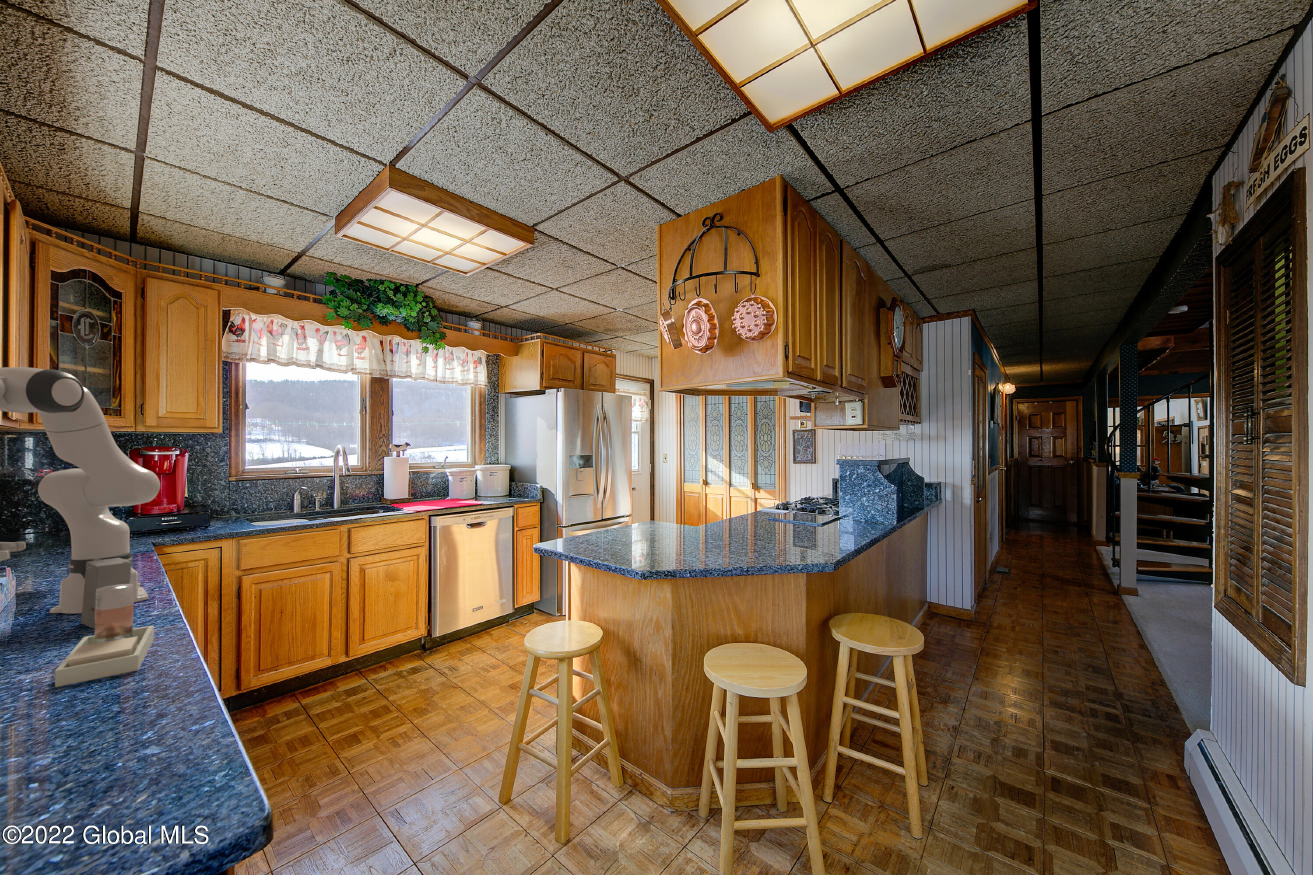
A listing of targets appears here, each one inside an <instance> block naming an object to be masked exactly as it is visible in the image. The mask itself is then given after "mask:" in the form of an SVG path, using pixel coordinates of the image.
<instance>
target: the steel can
mask: <svg viewBox="0 0 1313 875" xmlns="http://www.w3.org/2000/svg"><path fill="white" fill-rule="evenodd" d="M133 629H134V603H133V584H119V585H111V586H106V587H102V588H98V589H96V609H95V628H94V635H95V644H97V643H102V642H108V641H114V640H119V639H125V638H131V637H132V635H133Z"/></svg>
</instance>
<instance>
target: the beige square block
mask: <svg viewBox="0 0 1313 875" xmlns="http://www.w3.org/2000/svg"><path fill="white" fill-rule="evenodd" d="M137 639H138V636H137V637H131V638H125V639H119V640H114V641H108V642H102V643H97V644H91V645H85V646H79V648H78V649H77V650H76V651H75V652H74V654H73V655H72V656H71V657H70V658H69V660H68V663H69V667H71V666H76V665H82V664H87V663H92V662H97V661H103V660H108V659H113V658H118V657H124V656H129V655H134V653H135V651H136V649H137Z"/></svg>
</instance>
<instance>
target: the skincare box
mask: <svg viewBox="0 0 1313 875" xmlns="http://www.w3.org/2000/svg"><path fill="white" fill-rule="evenodd" d="M131 567H132V564H131V562H129V561H127V559H121V558H112V559H103V560H93V561H87V562H86V573H85V584H84V595H83V606H82V613H81V616H80V618H81V619H80V623H81V624H82V625H84V626H87V627H89V628H91V629H95V609H96V589H98V588H102V587H106V586H111V585H119V584H130V574H131Z"/></svg>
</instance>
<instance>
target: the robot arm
mask: <svg viewBox="0 0 1313 875" xmlns="http://www.w3.org/2000/svg"><path fill="white" fill-rule="evenodd" d="M0 412H7V413H8V412H9V413H17V414H18V413H20V414H26V413H37V414H38V415H39V416H40V419H41V423H42V425H43V428H44V431H45V433H46V435H47V438H48V439H49V442H50V444H51V447H52V449H53V451H54V453H55V455H56V456H57V457H58V458H59V459H61V460H63V461H65V462H67V463H70V464H72V465H74V466H76V468H69V469H63V470H62V469H61V470H58V471H52V472H50V473H48V474H46V475H45V476H44V477H43V478H42V479H41V480H40V482H39V483H38V487H37V493H38V496H39V498H40V500H41V501H42V502H44V503H45V504H47V505H49V506H50V507H52V508H53V509H54V510H56V511H57V512H58V513H59V514H60V515H61V516H62V518H63V519H64V522H65V523H66V525H67V526H68V529H69V532H70V544H71V558H70V559H69V561H68V567H67V568H68V572H69V575H68V576H67V577H65V578H63V579H62V580H61V581H60V585H59V586H60V589H59V600H58V601H59V602H58V605H56V606H54V607H52V608H50V610H49V614H59V613H60V614H61V613H62V614H67V615H68V614H82V606H83V595H84V584H85V573H86V562H87V561H93V560H103V559H112V558H121V559H127V561H129V562H131V565H132V564H133V556H132V552H131V551H130V546H131V545H130V541H131V540H130V536H131V534H130V532H131V531H130V527H129V524H127V523H126V522H124V521H122V520H120V519H118V518H116V517H115V516H114V515H113V514H112V513H111V511H110V509H109V507H129V506H130V507H131V506H135V505H137V506H138V505H142V504H145V503H150V502H151V501H153V500H154V499H155V498H156V497H157V495H159V492H160V489H161V482H160V479H159V477H158V476H157V474H156V473H154V472H153V471H152V470H149V469H147V468H144V467H143V466H140V465H139V464H137V463H136V462H135V461H133V460H132V459H130V458H129V457H128V456H127V455H126V454H125V453H124V452H123V451H122V450H121V449H120V448H119V446H118V445H117V443H116V441H115V439H114V437H113V435H112V432H111V430H110V428H109V425H108V422H107V421H106V417H105V415H104V412H103V411H102V408H101V407H100V405H99V403H98V401H97V400H96V399H95V397H94V395H93V394H92V393H91V391H90V390H89V389H88V388H86V387H84V386H83V385H82V383H81V382H80V381H79V379H78V378H77V377H76V376H74V375H72V374H70V373H68V372H64V371H61V370H56V369H52V368H51V369H49V368H48V369H45V368H36V367H29V366H28V367H27V366H15V367H11V366H6V367H0ZM77 467H78V468H77ZM26 544H27V543H26V542H25V541H15V542H14V541H13V542H11V541H10V542H9V541H0V561H6V560H8V559H9V558H11V553H14V552H15V553H16V552H21V551H24V550H25V549H27V548H26ZM130 584H133V604H134V603H137V602H141V601H145V600H149V595H148V593H147V591H146V590H145V589H144V587H142V584H141V582H139V572H138V571H137V570H135V569H134V568H133V566H131V574H130Z"/></svg>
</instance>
